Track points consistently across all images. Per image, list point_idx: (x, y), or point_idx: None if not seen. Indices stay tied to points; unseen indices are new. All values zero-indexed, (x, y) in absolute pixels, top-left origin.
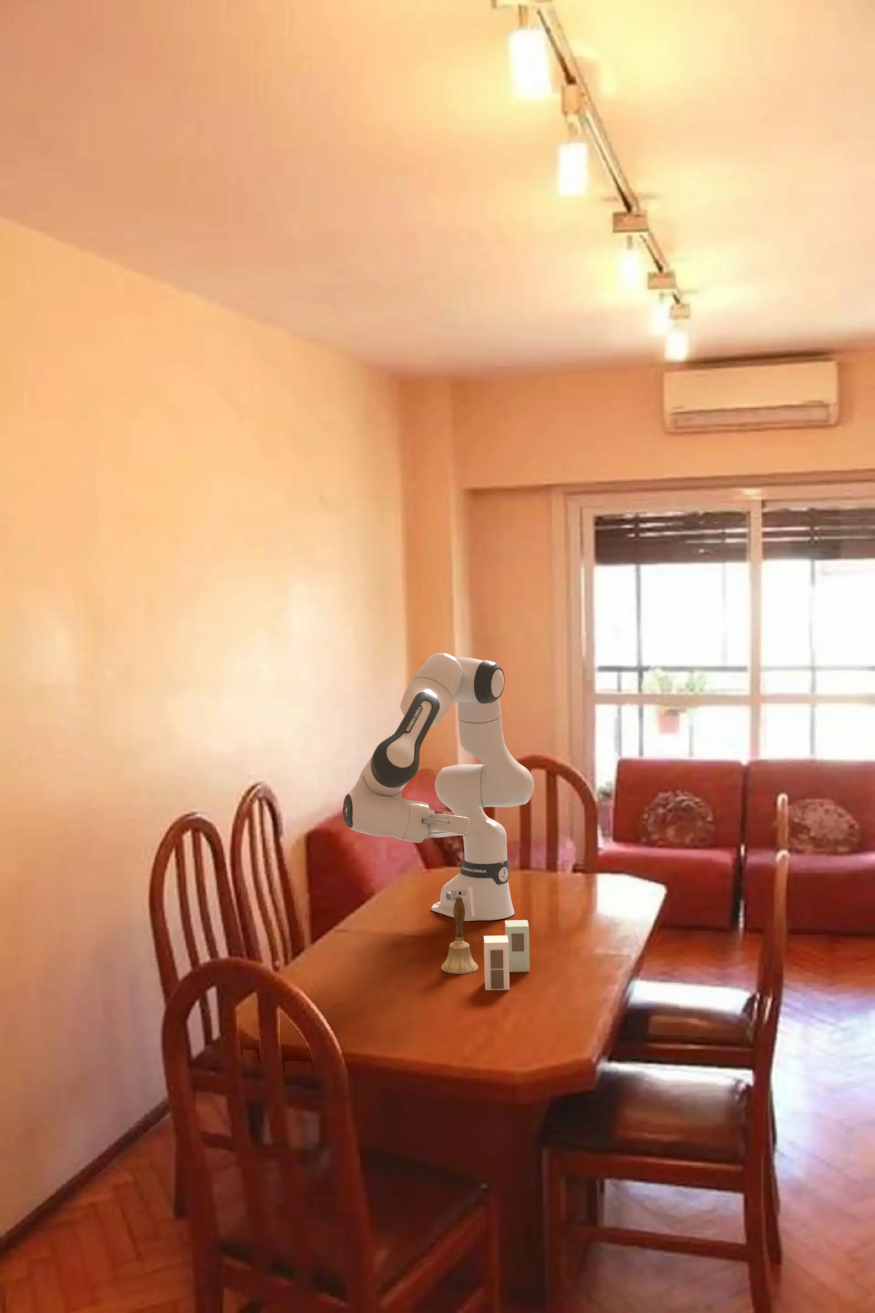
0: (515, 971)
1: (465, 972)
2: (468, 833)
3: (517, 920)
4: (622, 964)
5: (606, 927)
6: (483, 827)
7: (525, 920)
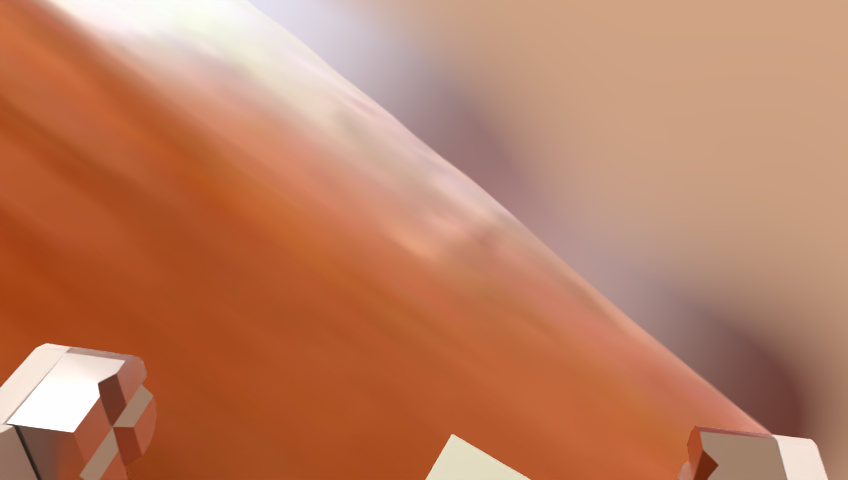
0: None
1: None
2: (151, 409)
3: (434, 476)
4: (570, 278)
5: (239, 101)
6: (813, 446)
7: (454, 445)
